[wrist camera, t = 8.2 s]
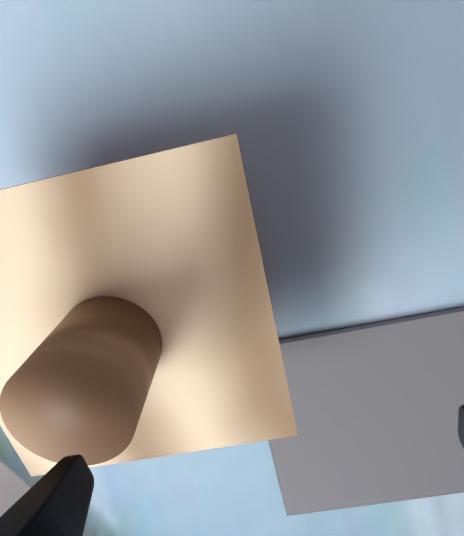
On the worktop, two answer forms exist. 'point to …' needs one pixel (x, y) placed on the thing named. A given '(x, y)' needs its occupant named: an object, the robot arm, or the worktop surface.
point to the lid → (137, 312)
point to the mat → (373, 414)
